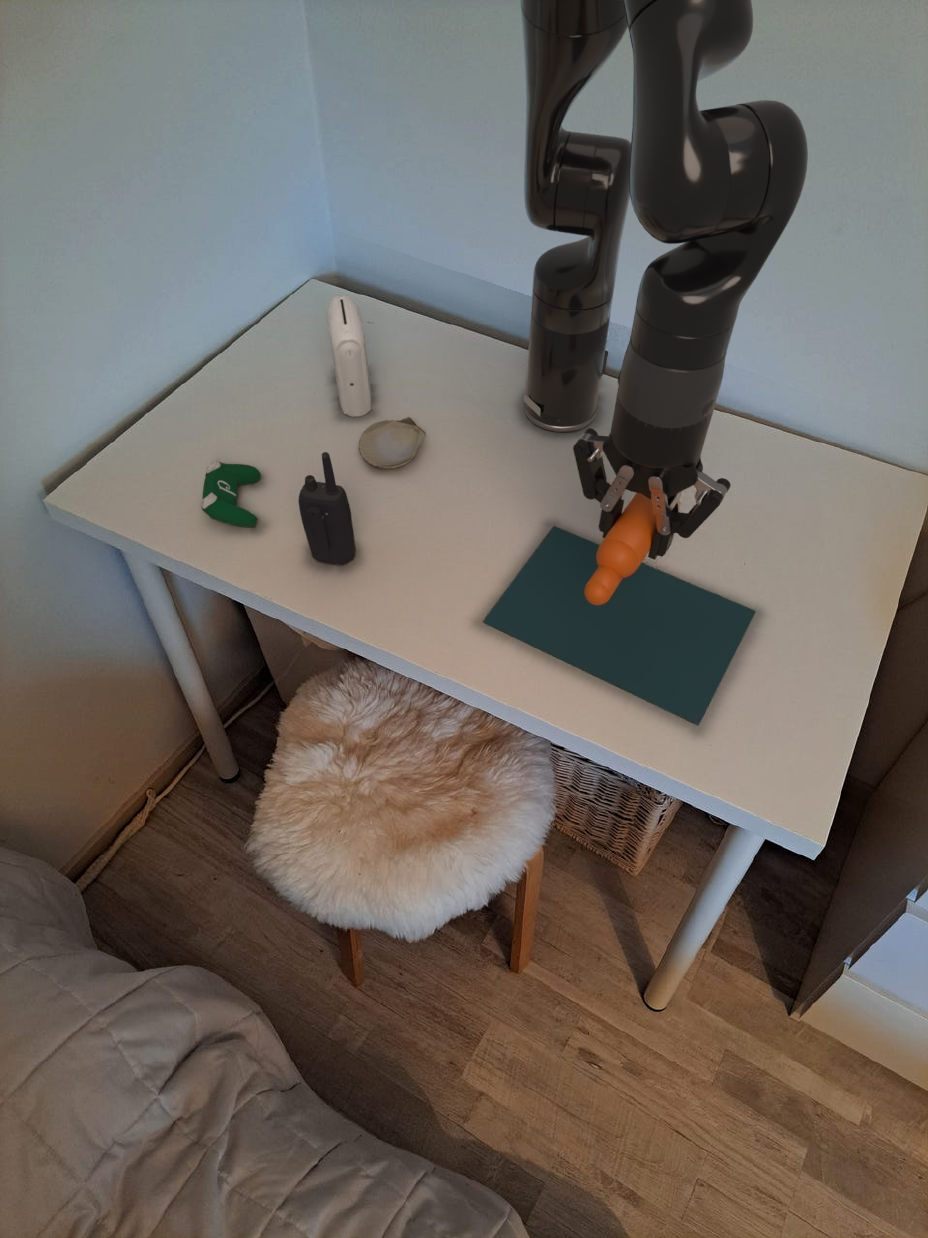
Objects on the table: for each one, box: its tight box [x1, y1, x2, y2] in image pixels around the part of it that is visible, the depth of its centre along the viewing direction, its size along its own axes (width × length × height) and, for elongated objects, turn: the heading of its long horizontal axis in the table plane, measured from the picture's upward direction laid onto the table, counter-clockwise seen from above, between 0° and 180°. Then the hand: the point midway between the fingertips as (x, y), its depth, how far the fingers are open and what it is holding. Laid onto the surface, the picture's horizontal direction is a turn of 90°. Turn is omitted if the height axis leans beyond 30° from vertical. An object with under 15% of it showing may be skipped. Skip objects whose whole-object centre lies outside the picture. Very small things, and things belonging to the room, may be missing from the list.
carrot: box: [584, 492, 657, 605], centre depth 77 cm, size 17×4×4 cm, turn 148°
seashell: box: [358, 416, 427, 470], centre depth 103 cm, size 8×3×8 cm
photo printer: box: [326, 295, 372, 418], centre depth 106 cm, size 10×4×12 cm, turn 10°
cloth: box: [482, 525, 757, 726], centre depth 88 cm, size 16×24×1 cm, turn 58°
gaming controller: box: [201, 459, 262, 528], centre depth 97 cm, size 9×4×6 cm
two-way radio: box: [298, 451, 357, 566], centre depth 87 cm, size 6×4×15 cm
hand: (632, 542), depth 78 cm, fingers closed on carrot, 4 cm apart
